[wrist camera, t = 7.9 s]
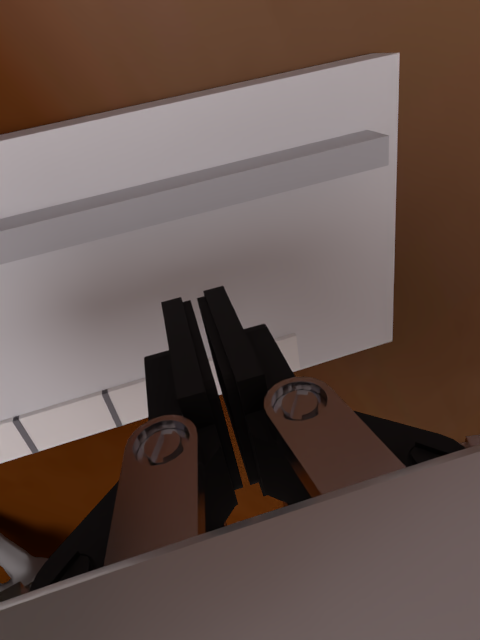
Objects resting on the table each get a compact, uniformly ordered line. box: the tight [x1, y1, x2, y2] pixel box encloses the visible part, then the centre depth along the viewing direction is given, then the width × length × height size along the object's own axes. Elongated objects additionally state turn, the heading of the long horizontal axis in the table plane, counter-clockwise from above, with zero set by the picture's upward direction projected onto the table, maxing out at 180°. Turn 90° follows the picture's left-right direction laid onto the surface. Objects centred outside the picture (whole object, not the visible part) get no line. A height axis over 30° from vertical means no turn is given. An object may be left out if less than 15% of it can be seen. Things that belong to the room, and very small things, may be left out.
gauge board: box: [0, 53, 400, 463], centre depth 12 cm, size 24×10×6 cm, turn 100°
